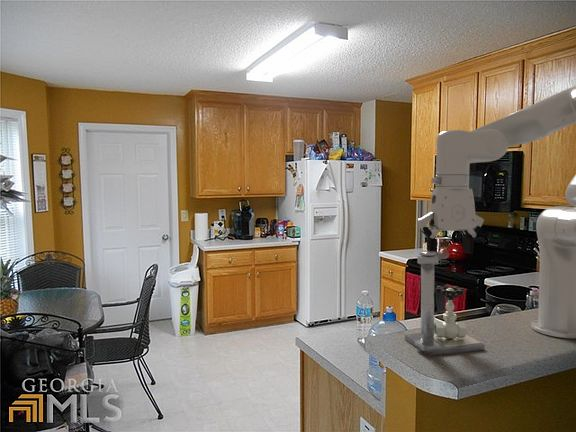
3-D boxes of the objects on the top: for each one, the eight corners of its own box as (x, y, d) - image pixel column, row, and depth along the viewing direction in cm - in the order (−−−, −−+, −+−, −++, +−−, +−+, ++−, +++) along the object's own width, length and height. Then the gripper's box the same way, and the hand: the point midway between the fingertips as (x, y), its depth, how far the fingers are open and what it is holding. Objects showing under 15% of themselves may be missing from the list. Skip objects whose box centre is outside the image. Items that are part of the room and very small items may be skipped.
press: (455, 334, 111) (456, 244, 110) (484, 349, 101) (486, 250, 99) (401, 339, 108) (401, 247, 106) (425, 356, 97) (425, 254, 96)
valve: (468, 343, 101) (469, 291, 100) (438, 343, 102) (439, 291, 101) (459, 333, 108) (460, 285, 107) (431, 333, 108) (432, 285, 108)
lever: (433, 267, 96) (433, 256, 95) (414, 265, 98) (414, 254, 98) (454, 258, 106) (454, 248, 106) (436, 257, 109) (436, 247, 109)
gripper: (428, 182, 101) (426, 257, 102) (494, 183, 105) (491, 255, 106) (411, 182, 108) (409, 252, 109) (473, 183, 112) (471, 250, 113)
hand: (450, 253), depth 107 cm, fingers open, 9 cm apart
